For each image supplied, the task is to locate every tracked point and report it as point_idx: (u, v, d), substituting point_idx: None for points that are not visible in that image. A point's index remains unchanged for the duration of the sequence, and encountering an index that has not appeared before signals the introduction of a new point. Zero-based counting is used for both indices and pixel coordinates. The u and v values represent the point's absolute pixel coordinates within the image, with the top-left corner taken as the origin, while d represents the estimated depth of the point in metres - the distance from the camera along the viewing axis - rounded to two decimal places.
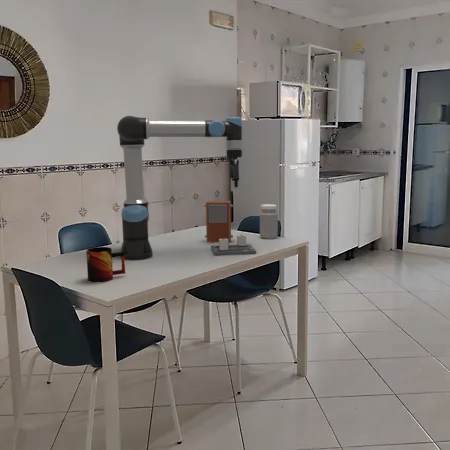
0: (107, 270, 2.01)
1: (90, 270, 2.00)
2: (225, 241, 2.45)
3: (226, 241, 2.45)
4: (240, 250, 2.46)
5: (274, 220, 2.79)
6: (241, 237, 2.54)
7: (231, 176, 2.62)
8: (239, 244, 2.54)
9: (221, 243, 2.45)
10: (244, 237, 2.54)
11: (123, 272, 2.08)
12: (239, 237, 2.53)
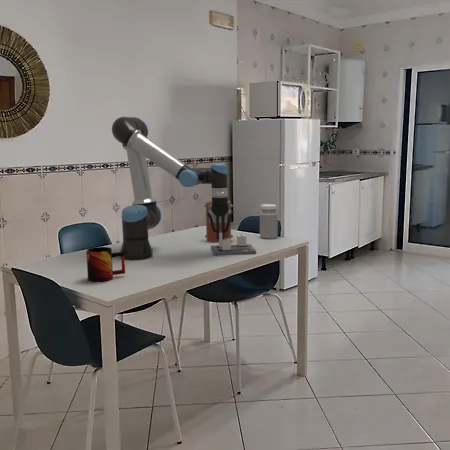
0: (107, 270, 2.01)
1: (90, 270, 2.00)
2: (228, 241, 2.45)
3: (229, 241, 2.45)
4: (240, 250, 2.46)
5: (274, 220, 2.79)
6: (241, 237, 2.54)
7: None
8: (239, 244, 2.54)
9: (224, 243, 2.45)
10: (244, 237, 2.54)
11: (123, 272, 2.08)
12: (239, 237, 2.53)
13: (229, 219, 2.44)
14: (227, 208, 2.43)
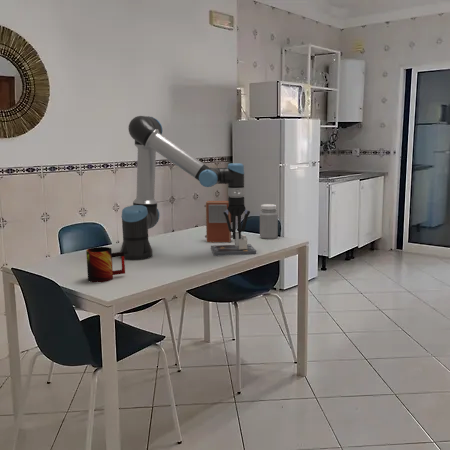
0: (107, 270, 2.01)
1: (90, 270, 2.00)
2: (244, 240, 2.46)
3: (245, 240, 2.46)
4: (240, 250, 2.46)
5: (274, 220, 2.79)
6: (241, 237, 2.54)
7: None
8: None
9: (240, 242, 2.46)
10: (244, 237, 2.54)
11: (123, 272, 2.08)
12: None
13: (245, 219, 2.45)
14: (244, 208, 2.44)
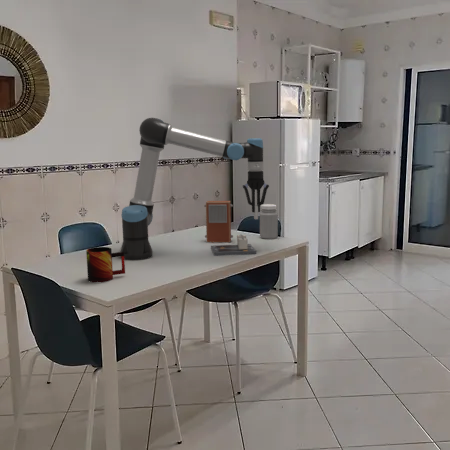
0: (107, 270, 2.01)
1: (90, 270, 2.00)
2: (244, 240, 2.46)
3: (245, 240, 2.46)
4: (240, 250, 2.46)
5: (274, 220, 2.79)
6: (241, 237, 2.54)
7: None
8: None
9: (240, 242, 2.46)
10: (244, 237, 2.54)
11: (123, 272, 2.08)
12: (239, 237, 2.53)
13: (264, 192, 2.52)
14: (263, 182, 2.51)
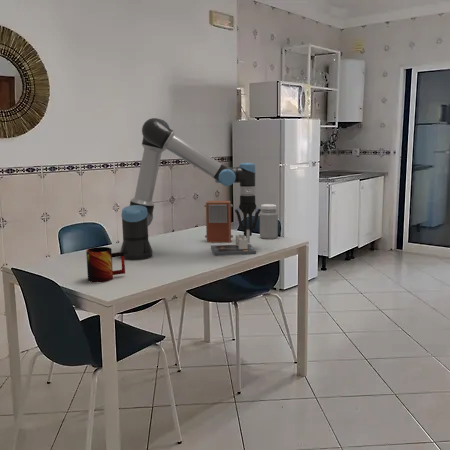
0: (107, 270, 2.01)
1: (90, 270, 2.00)
2: (244, 240, 2.46)
3: (245, 240, 2.46)
4: (240, 250, 2.46)
5: (274, 220, 2.79)
6: (239, 237, 2.53)
7: None
8: None
9: (240, 242, 2.46)
10: (242, 237, 2.54)
11: (123, 272, 2.08)
12: (237, 237, 2.53)
13: (256, 216, 2.54)
14: (254, 206, 2.53)
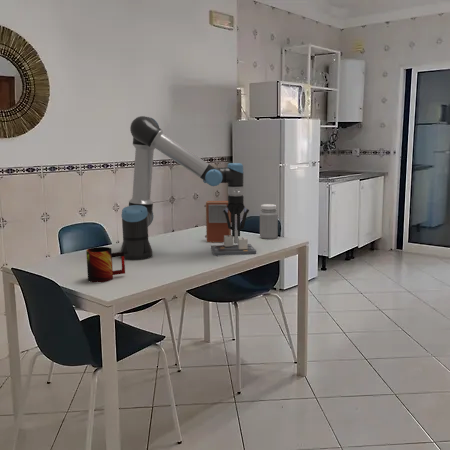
0: (107, 270, 2.01)
1: (90, 270, 2.00)
2: (244, 240, 2.46)
3: (245, 240, 2.46)
4: (240, 250, 2.46)
5: (274, 220, 2.79)
6: (228, 238, 2.53)
7: (237, 226, 2.55)
8: (226, 245, 2.53)
9: (240, 242, 2.46)
10: (231, 238, 2.53)
11: (123, 272, 2.08)
12: (226, 238, 2.53)
13: (244, 217, 2.53)
14: (243, 206, 2.52)
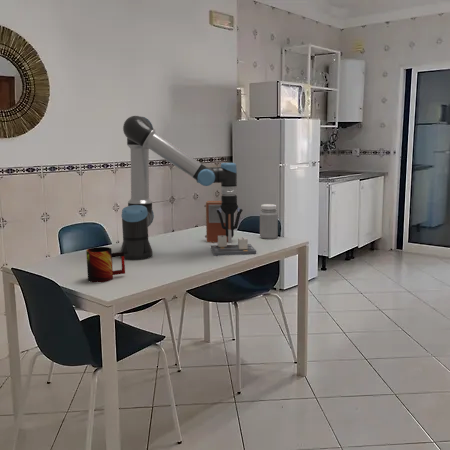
0: (107, 270, 2.01)
1: (90, 270, 2.00)
2: (244, 240, 2.46)
3: (245, 240, 2.46)
4: (240, 250, 2.46)
5: (274, 220, 2.79)
6: (221, 238, 2.52)
7: None
8: (220, 245, 2.53)
9: (240, 242, 2.46)
10: (224, 238, 2.53)
11: (123, 272, 2.08)
12: (219, 238, 2.52)
13: (238, 217, 2.52)
14: (236, 206, 2.52)
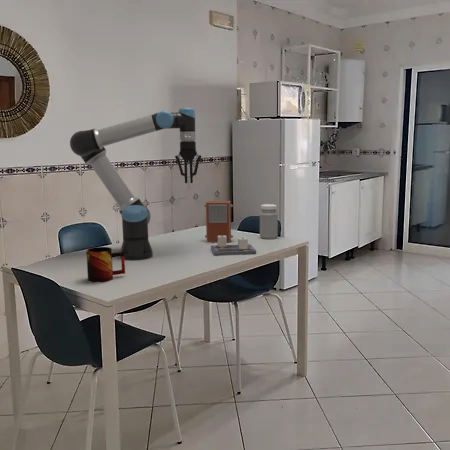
0: (107, 270, 2.01)
1: (90, 270, 2.00)
2: (244, 240, 2.46)
3: (245, 240, 2.46)
4: (240, 250, 2.46)
5: (274, 220, 2.79)
6: (221, 238, 2.52)
7: None
8: (220, 245, 2.53)
9: (240, 242, 2.46)
10: (224, 238, 2.53)
11: (123, 272, 2.08)
12: (219, 238, 2.52)
13: (197, 163, 2.51)
14: (195, 152, 2.50)
